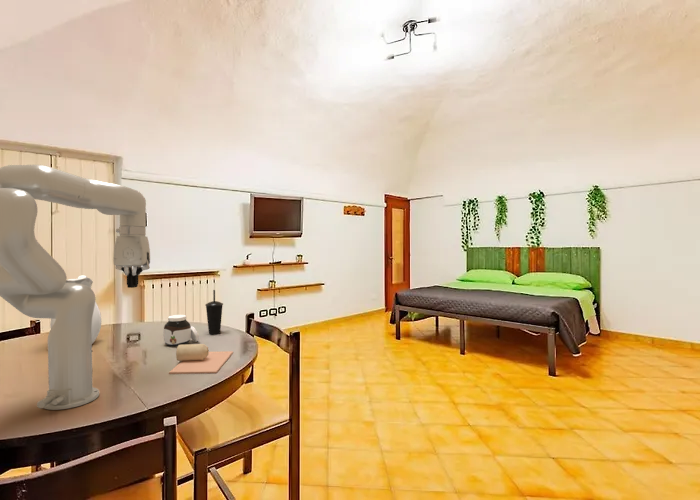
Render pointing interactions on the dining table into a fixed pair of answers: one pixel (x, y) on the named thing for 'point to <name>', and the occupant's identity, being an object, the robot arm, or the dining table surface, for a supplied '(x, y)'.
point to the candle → (192, 352)
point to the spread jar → (179, 331)
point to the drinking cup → (214, 316)
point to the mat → (203, 364)
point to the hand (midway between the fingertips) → (132, 287)
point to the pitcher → (96, 314)
